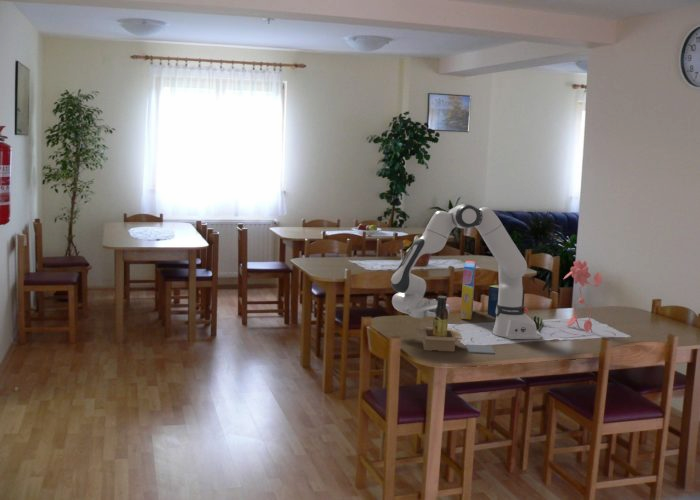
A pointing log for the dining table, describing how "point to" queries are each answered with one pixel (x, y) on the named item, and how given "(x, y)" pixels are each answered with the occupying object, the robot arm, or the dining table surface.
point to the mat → (480, 349)
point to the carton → (438, 339)
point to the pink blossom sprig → (581, 274)
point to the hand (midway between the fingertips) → (442, 314)
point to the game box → (468, 290)
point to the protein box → (496, 299)
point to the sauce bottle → (440, 318)
